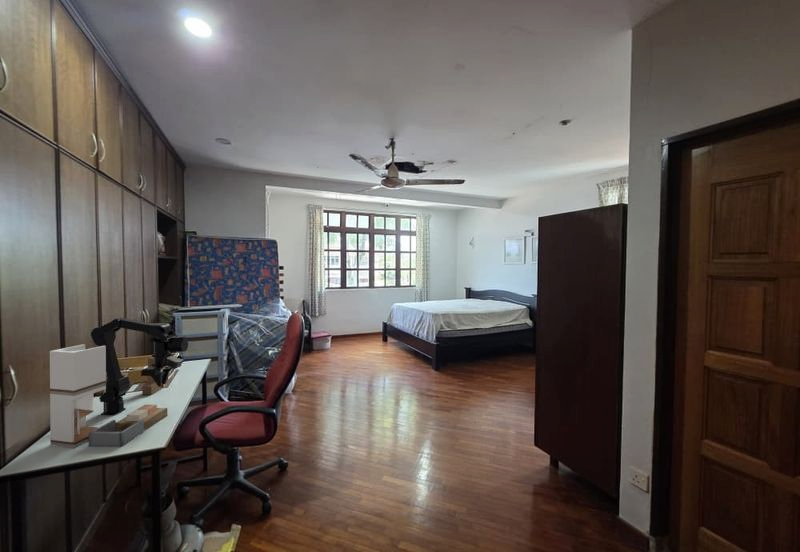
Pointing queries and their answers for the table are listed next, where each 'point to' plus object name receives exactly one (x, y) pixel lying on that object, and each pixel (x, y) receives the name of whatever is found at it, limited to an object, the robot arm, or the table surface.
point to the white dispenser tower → (74, 392)
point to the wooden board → (148, 420)
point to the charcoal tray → (114, 434)
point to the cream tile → (136, 415)
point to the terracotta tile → (148, 408)
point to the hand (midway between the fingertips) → (161, 385)
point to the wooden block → (150, 382)
